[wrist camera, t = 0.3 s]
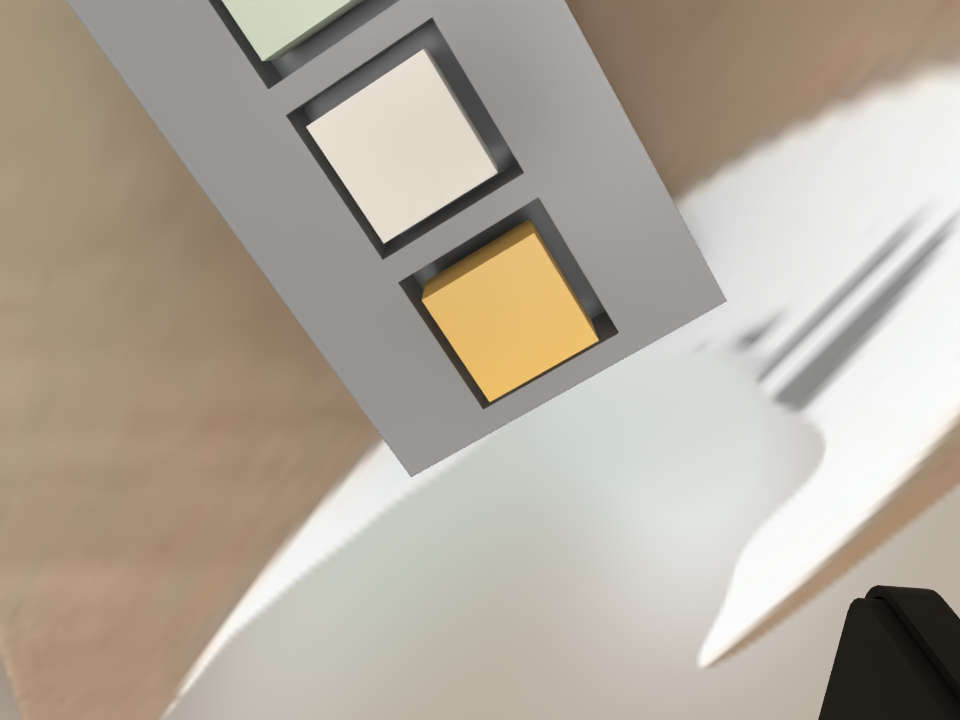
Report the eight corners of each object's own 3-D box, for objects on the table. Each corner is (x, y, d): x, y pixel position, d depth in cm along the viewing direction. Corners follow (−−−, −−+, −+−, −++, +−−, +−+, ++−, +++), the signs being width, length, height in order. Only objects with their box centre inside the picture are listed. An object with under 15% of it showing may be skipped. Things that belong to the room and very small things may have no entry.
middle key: (427, 47, 31) (423, 49, 28) (496, 162, 32) (497, 173, 30) (318, 119, 31) (306, 126, 29) (390, 228, 33) (383, 243, 30)
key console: (411, -255, 31) (399, -306, 26) (696, 267, 37) (726, 301, 33) (102, -26, 33) (40, -35, 29) (419, 424, 40) (411, 477, 35)
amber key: (530, 218, 33) (534, 232, 30) (590, 319, 34) (599, 340, 32) (425, 281, 34) (421, 300, 31) (489, 376, 35) (489, 402, 33)
